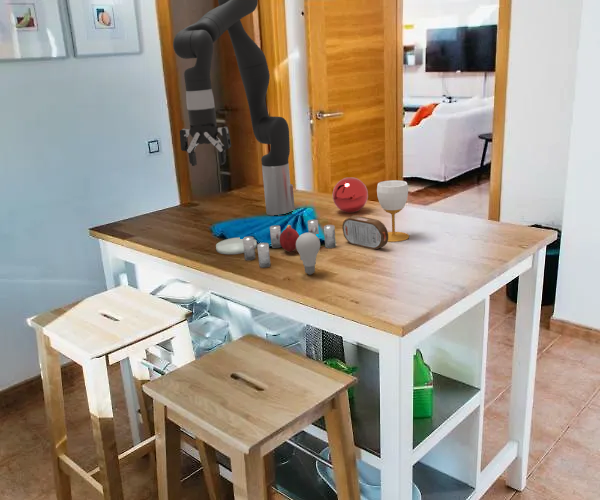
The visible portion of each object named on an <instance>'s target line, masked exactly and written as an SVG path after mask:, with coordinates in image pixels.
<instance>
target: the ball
mask: <svg viewBox="0 0 600 500" xmlns="http://www.w3.org/2000/svg"><path fill="white" fill-rule="evenodd" d="M332 190H333V191H332V195H331V196H332V200H333V203H334V205H335V206H336V208H337V209H339V211H341V212H344V213H348V214H349V213H351V214H352V213H357V212H358V211H360V210H362V209H363V208H364V207H365V205H366V204H367V202H368V198H369V193H368V192H369V191H368V188H367V186H366V184H364V182H363V181H362V180H360V179H359V178H357V177H343V178H342V179H340V180H339V181H338V182H337V183H336V184H335V185H334V187H333V189H332Z"/></svg>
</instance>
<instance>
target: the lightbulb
mask: <svg viewBox="0 0 600 500" xmlns="http://www.w3.org/2000/svg"><path fill="white" fill-rule="evenodd" d="M320 249H321V242H320V237H319V238H318V237H317V236H316V235H315V234H313V233H309V232H304V233H302V234H300V235H299V237H298V239H297V241H296V249H295V250H296V251H297V252H298V254H299V255H300V256H301V257H302V260H301V261H302V264H303V266H304V273H305V274H308V275H309V276H310V275H313V274H314V273H316V260H317V256H318V254H319V251H320Z"/></svg>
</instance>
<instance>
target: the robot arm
mask: <svg viewBox="0 0 600 500" xmlns="http://www.w3.org/2000/svg"><path fill="white" fill-rule="evenodd" d="M217 1H218V3H217V4H218V6H216V7H214V8H212V9H210V10H208V12H206V13H205V14H204V15H203V16H202V17H200V18H199V19H198V20H197V21H196V22H194V23H192V24H190V25H188V26H186V27H185V28H182V29H181V30H179V31H178V32H177V33H176V34H175V37H174V38H173V44H172V47H173V51H174V53H175V54H176V55H177V56H178V57H179V58H181V59H185V60H188V59H196V61H195V65H194V66H192V67H190V68H189V67H188V68H187V69H185V70H184V71H183V72H184V73H183V77H184V85H185V95H186V97H185V98H186V99H185V100H186V109H187V115H188V123H189V129H187V128H182V129H180V130H179V140H180V150H181V151H183V152H186V153H188V159H189V164H190V165H191V166H192V167H195V166H197V164H198V162H197V156H196V155H197V154H196V151H195V149H196V148H197V146H198V145H203V144H205V145H208V144H209V145H210V144H212V145H213V146H214V147H215V148H216V149H217V151H218V160H219V165H220V166H221V165H222V166H223V165H225V163H226V161H227V155H226V154H227V153H226V150H229V149H230V148H231V147H232V142H231V136H230V131H229V127H228V126H223V127H218V125H217V115H216V106H215V98H214V93H213V88H212V81H211V67H212V59H213V53H214V43H215V42H217V40H219V38H220V37H221V36H222V35H224V34H225V32H228V36H229V38H230V42H231V45H232V48H233V52H234V56H235V59H236V63H237V67H238V71H239V74H240V75H239V76H240V77H241V82H242V85H243V88H244V92H245V96H246V100H247V104H248V109H249V114H250V115H249V116H250V119H251V120H250V122H251V126H252V131H253V135H254V137H255V139H256V141H257V142H258V143H260V144H263V145H270V147H269V152H268V153H267V154H265V155H262V156H261V170H262V182H263V191H264V192H263V193H264V200H265V201H264V203H265V210H266V211H265V212H266V213H265V214H266V215H268V216H274V215H278V214H284V213H288V212H290V211H292V210H294V209H295V199H294V197H295V196H294V185H293V184H291V176H290V164H289V158H290V152H291V151H290V149H291V148H290V144H291V143H290V129H289V128H290V127H289V123H288V122H287V120H286V119H285V118H284V117H282V116H272V115H271V116H270V115H269V112H268V109H267V103H266V95H267V91H268V88H269V84H270V78H271V77H270V71H269V65H268V62H267V58H266V56H265V53H264V52H263V50H262V49H261V48H260V47H259V45H258V44H257V43H256V42H255V41H254V40H253V39H252V37H250V35H249V34H248V33H247V32H246V30H245V27H244V26H243V24H242V21H241V19H243V18H244V17H246V16H248V15H250V14H252V13H253V12H255V11H256V9H257V6H258V1H259V0H217ZM219 134H220V136H222V141H221V139H220V138H219V137H218V135H219ZM189 135H190V136H191V137H192V139H191V141H190V144H189V140H188V137H189ZM222 142H223V143H222ZM278 216H279V215H278Z"/></svg>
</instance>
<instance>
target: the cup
mask: <svg viewBox="0 0 600 500" xmlns="http://www.w3.org/2000/svg"><path fill="white" fill-rule="evenodd" d="M376 194H377V199H378V203H379V205H380V207H381V208H382V209H383V211H385V212H386V213H388V214H390V215H391V231H388V242H387V243H397V242H398V243H399V242H403V241H406V240H408V239H409V238H410V235H409V234H408V233H406V232H402V231H396V222H395V221H396V220H395V215H396V214H398V213H400V212H401V211H402V210H403V209H404V208H405V206H406V203H407V200H408V196H409V185H408V182H407V181H405V180H399V179H398V180H397V179H395V180H392V179H391V180H384V181H380V182H378V183H377V187H376Z"/></svg>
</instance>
